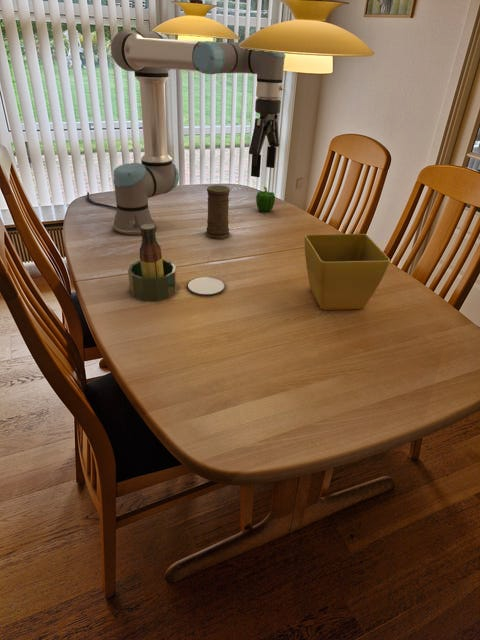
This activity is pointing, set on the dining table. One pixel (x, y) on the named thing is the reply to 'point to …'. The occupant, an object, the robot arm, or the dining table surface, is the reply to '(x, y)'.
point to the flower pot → (343, 269)
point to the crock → (152, 283)
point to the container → (218, 212)
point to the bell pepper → (265, 200)
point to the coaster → (206, 286)
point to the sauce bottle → (150, 253)
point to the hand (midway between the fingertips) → (263, 171)
